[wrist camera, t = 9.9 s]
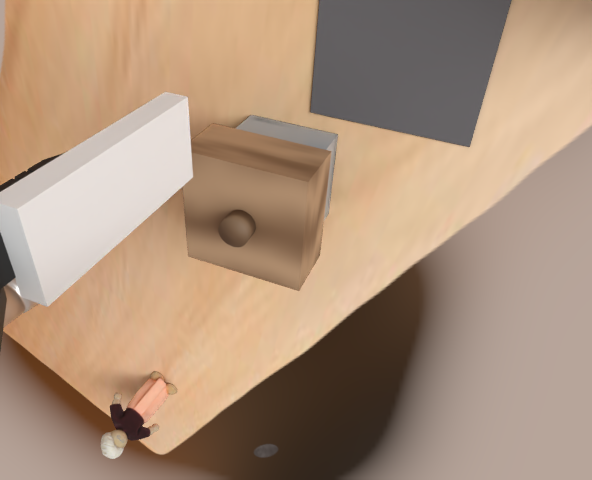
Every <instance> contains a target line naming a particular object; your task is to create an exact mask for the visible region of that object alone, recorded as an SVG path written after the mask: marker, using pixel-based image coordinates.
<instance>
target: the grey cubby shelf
mask: <svg viewBox="0 0 592 480" xmlns="http://www.w3.org/2000/svg"><path fill="white" fill-rule="evenodd" d="M235 129H239V130H244V131H248V132H252V133H256V134H261V135H265V136H269V137H273V138H278V139H282V140H286V141H290V142H294V143H299V144H303V145H307V146H311V147H316V148H320V149H324V150H328V151H332V152H331V161H330V170H329V179H328V188H327V197H326V205H325V214H324V220H325V218H326V217H327V215H328V214H329V206H330V198H331V189H332V181H333V172H334V164H335V155H336V146H337V138H338V134H334V133H329V132H325V131H320V130H316V129H312V128H307V127H303V126H298V125H294V124H290V123H285V122H281V121H276V120H272V119H267V118H263V117H259V116H254V115H250V116H249V117H248V118H247V119H246V120H244V121H243V122H242V123H241V124H240V125H239V126H237V127H236V128H235Z"/></svg>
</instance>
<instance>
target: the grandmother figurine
mask: <svg viewBox="0 0 592 480" xmlns="http://www.w3.org/2000/svg"><path fill="white" fill-rule="evenodd" d="M176 392H177V389H176V388H175V386H173V385H172V384H170V383H167V384H166V383H165V382H164V377H163V376H162V375H161V374H160V373H158V372H153V373H152V374H151V376H150V378H149V379H148V380H147V381H146V382H145V383H144V385H143V386H142V387H141V388H140V389H139V390H138V391H137V393H136V394H135V395H134V397H133V398H132V399H131V401H130V402H129V404H128V406H127V408H126V410H125V411H123V410H122V407H121V405H120V400H121V398H122V395H121V394H120V393H116V394H115V395H114V400H113V402H112V405H110V412H111V418H112V421H113V423H114V426H115V428H116V429H117V430H114V431H112V432H109V433H105V434H104V435H103V436H102V440H101V449H102V454H103V455H105V456H106V457H109V458H111V459H114V458H117V457H118V456H120V455H121V454H122V452H123V449H124V446H125V445H126V443H127V439H129V440H139V439H143V438H146V437H149V436H150V435H151V434H153V433H154V432H156V431H158V430H159V425H158V424H153V425H152V426H150V427H148V428H145V427H143V426H142V425H143V424H144V423H146V422H147V421H148V420H149V419H150V418H151V417H152V416H153V415H154V413H155V412H156V411H157V410H158V409H159V407H160V406H161V405H162V404H163V403H164V401H165V400H166V399H167V397H168V394H171V395H172V394H175V393H176Z"/></svg>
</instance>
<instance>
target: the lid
mask: <svg viewBox="0 0 592 480" xmlns="http://www.w3.org/2000/svg"><path fill="white" fill-rule="evenodd" d="M331 152H332V151H328V150H324V149H320V148H316V147H311V146H307V145H303V144H299V143H294V142H290V141H286V140H282V139H278V138H273V137H269V136H265V135H261V134H256V133H252V132H248V131H244V130H239V129H235V128H231V127H227V126H222V125H218V124H214V123H213V124H211V125H210V126H209V127H207V128H206V129H205V130H204V131H202V132H201V133H200V134H199V135H197V136H196V137H195V138H193V139H192V140H191V153H192V168H193V178H192V179H191V180H189V181H188V182H187V183H186V184H185V185H184V186H183V199H184V211H185V223H186V236H187V248H188V256H189V257H192V258H195V259H198V260H202V261H205V262H208V263H211V264H214V265H217V266H221V267H224V268H227V269H230V270H233V271H237V272H240V273H243V274H246V275H249V276H253V277H256V278H259V279H262V280H265V281H269V282H272V283H275V284H278V285H281V286H285V287H288V288H291V289H294V290H297V291H299V290H300V288H301V287H302V285H303V283H304V282H305V280H306V278H307V276H308V275H309V273H310V271H311V270H312V268H313V266H314V264H315V263H316V261H317V259H318V258H319V256H320V250H321V241H322V232H323V223H324V214H325V205H326V197H327V188H328V179H329V170H330V161H331Z"/></svg>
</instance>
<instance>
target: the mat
mask: <svg viewBox="0 0 592 480" xmlns="http://www.w3.org/2000/svg"><path fill="white" fill-rule="evenodd" d="M510 4H511V0H320V1H319V13H318V25H317V38H316V50H315V62H314V75H313V87H312V100H311V113H316V114H320V115H325V116H330V117H334V118H339V119H343V120H348V121H352V122H357V123H362V124H366V125H371V126H375V127H380V128H385V129H389V130H394V131H398V132H403V133H408V134H412V135H417V136H421V137H426V138H430V139H435V140H440V141H444V142H449V143H453V144H458V145H463V146H467V147H470V144H471V140H472V137H473V133H474V130H475V126H476V123H477V119H478V116H479V112H480V109H481V105H482V102H483V98H484V95H485V91H486V88H487V84H488V81H489V77H490V74H491V70H492V67H493V63H494V60H495V56H496V53H497V49H498V46H499V42H500V39H501V35H502V32H503V28H504V25H505V21H506V18H507V14H508V11H509V7H510Z"/></svg>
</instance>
